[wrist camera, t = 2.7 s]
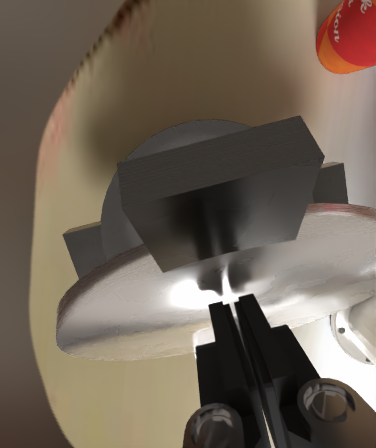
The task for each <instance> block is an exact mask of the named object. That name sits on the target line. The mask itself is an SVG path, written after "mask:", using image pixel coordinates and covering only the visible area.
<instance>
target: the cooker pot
mask: <svg viewBox="0 0 376 448" xmlns="http://www.w3.org/2000/svg"><path fill="white" fill-rule="evenodd" d="M250 128H251V127H249V126H246V125H244V124H240V123H235V122H231V121H224V120H197V121H191V122H186V123H182V124H179V125H176V126H173V127H170V128H167V129H165V130H163V131H161V132H159V133H157V134H155V135H153V136H152V137H151V138H149V139H148V140H146V141H145V142H143V143H142V144H141V145H139V146H138V147H137V148H136V149H135V150H134V151H133V152H132V153H131V154H130V155H129V156H128V157H127V158H126V160H125V161H128V160H132V159H136V158H139V157H143V156H147V155H151V154H155V153H159V152H162V151H166V150H170V149H174V148H178V147H182V146H185V145H189V144H193V143H197V142H201V141H204V140H208V139H212V138H216V137H220V136H224V135H227V134H231V133H235V132H239V131H243V130H247V129H250ZM318 203H330V204H348V196H347V188H346V180H345V171H344V163H340V162H330V163H326V164H322V166H321V169H320V172H319V175H318V177H317V180H316V183H315V186H314V189H313V192H312V195H311V198H310V200H309V203H308V204H318ZM62 235H63V237H64V240H65V243H66V245H67V248H68V251H69V253H70V256H71V259H72V261H73V264H74V267H75V269H76V272H77V275H78V277H79V279H80V278H82V277H83V276H84V275H86V274H87V273H89V272H90V271H92V270H93V269H94V268H96V267H97V266H99V265H101V264H103V263H104V262H106V261H108V260H110V259H112V258H113V257H115V256H117V255H119V254H121V253H123V252H125V251H127V250H130V249H132V248H134V247H136V246H139V245H141V244H143V241H142V240H141V238H140V236H139V235H138V233H137V232H136V230H135V229H134V227H133V226H132V224H131V222H130V221H129V219H128V218H127V216H126V215H125V213H124V212H123V210H122V207H121V197H120V187H119V177H118V170H117V172H116V174H115V175H114V177H113V179H112V181H111V183H110V185H109V188H108V190H107V193H106V196H105V199H104V203H103V208H102V215H101V221H99V222H95V223H91V224H87V225H83V226H79V227H76V228H72V229H69V230H68V231H66V232H65V233H64V234H62ZM195 357H196V353H195Z"/></svg>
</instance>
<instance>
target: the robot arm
mask: <svg viewBox="0 0 376 448" xmlns="http://www.w3.org/2000/svg"><path fill="white" fill-rule="evenodd" d="M238 299H239V301H236V302H234V306H235V311H236V315H237V319H238V323H239V327H240V332H241V336H242V340H243V343H242V340H241V337H240V334H239V331H238V328H237V325H236V322H235V319H234V316H233V313H232V310H231V307H230V304H229V303H228V304H224V305H223V301H219V302H215V303H211V304H208V307H209V312H210V317H211V322H212V327H213V332H214V337H215V342H211V343H207V344H202V345H198V346H196V347H195V350H196V361H197V372H198V382H199V393H200V404H201V408H200V409H198V410H197V411H196V412H195V413H194V414H193V415H192V416H191V417H190V419H189V420H188V422H187V424H186V428H185V431H184V439H183V447H182V448H271V445H270V441H269V436H268V432H267V428H266V423H265V419H264V415H265V418H266V421H267V424H268V427H269V430H270V433H271V436H272V439H273V443H274V446H275V448H376V412H375V411H374V410H373V409H372V408H371V407H370V406H369V405H368V404H367V403H366V402H365V401H364V400H363V398H362V397H361V396H360V395H359V394H358V393H357V392H356V391H355V390H353V389H352V388H351V387H350V386H348V385H347V384H345V383H343V382H341V381H338V380H334V379H330V378H320V376H319V374H318V373H317V371H316V370H315V368H314V366H313V365H312V363H311V362H310V360H309V358H308V357H307V355H306V354H305V352H304V350H303V349H302V347H301V346H300V344H299V342H298V341H297V339H296V338H295V336H294V334H293V333H292V331H291V330H290V328H289V327H288V325H286V324H285V325H281V326H277V327H272V328H271V326H270V324H269V322H268V321H267V319H266V317H265V315H264V313H263V311H262V309H261V307H260V305H259V303H258V301H257V300H256V298H255V296H254V294H253V293H252V294H248V295H244V296H240V297H238ZM331 328H332V332H333V335H334V338H335V340H336V341H337V343H338V345H339V346H340V347H341V348H342V349H343V350H344V352H345V353H346V354H348V355H349V356H350V357H351V358H353V359H355V360H357V361H359V362H362V363H365V364H370V365H375V367H376V294H375V295H373V296H371V297H369V298H367V299H365V300H363V301H361V302H359V303H357V304H355V305H353V306H351V307H348V308H346V309H344V310H341V311H339V312H337V313H334V314H332V315H331ZM243 344H244V346H243ZM244 348H245V349H244ZM262 409H263V411H262ZM263 412H264V415H263Z"/></svg>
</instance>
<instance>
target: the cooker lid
mask: <svg viewBox="0 0 376 448" xmlns="http://www.w3.org/2000/svg"><path fill="white" fill-rule="evenodd" d="M324 157H325V156H324V155H323V153H322V151H321V150H320V148H319V146H318V144H317V143H316V141H315V139H314V138H313V136H312V134H311V133H310V131H309V129H308V128H307V126H306V124H305V122H304V121H303V119H302V117H301V116H296V117H292V118H289V119H285V120H281V121H277V122H273V123H270V124H266V125H262V126H258V127H254V128H250V129H247V130H243V131H239V132H235V133H231V134H227V135H224V136H220V137H216V138H212V139H208V140H204V141H201V142H197V143H193V144H189V145H185V146H182V147H178V148H174V149H170V150H166V151H162V152H159V153H155V154H151V155H147V156H143V157H139V158H136V159H132V160H128V161H124V162H120V163H117V167H118V177H119V187H120V197H121V207H122V210H123V212H124V213H125V215H126V216H127V218H128V219H129V221H130V222H131V224H132V226H133V227H134V229H135V230H136V232H137V233H138V235H139V236H140V238H141V240H142V241H143V244H141V245H139V246H136V247H134V248H132V249H130V250H127V251H125V252H123V253H121V254H119V255H117V256H115V257H113V258H112V259H110V260H108V261H106V262H104V263H103V264H101V265H99V266H97V267H96V268H94V269H93V270H92V271H90V272H89V273H87V274H86V275H84V276H83V277H82V278H80V279H79V280H78V281H77V282H76V283H75V284H74V285H73V286H72V287H70V288H69V289H68V290H67V291H66V293H65V294H64V296H63V297H62V299H61V300H60V302H59V305H58V308H57V315H56V343H57V346H58V347H59V349H60V350H61V351H63V352H65V353H67V354H68V355H71V356H75V357H78V358H84V359H90V360H103V361H127V360H143V359H154V358H162V357H170V356H177V355H184V354H190V353H196V350H195V347H196V346H198V345H202V344H207V343H211V342H215V337H214V332H213V327H212V322H211V317H210V312H209V307H208V304H211V303H215V302H219V301H223V305H224V304H228V303H229V304H230V307H231V310H232V313H233V316H234V319H235V322H236V325H237V328H238V331H239V334H240V337H241V340H242V336H241V332H240V327H239V323H238V319H237V315H236V311H235V306H234V302H236V301H239V299H238V297H240V296H244V295H248V294H252V293H253V294H254V296H255V298H256V300H257V301H258V303H259V305H260V307H261V309H262V311H263V313H264V315H265V317H266V319H267V321H268V322H269V324H270V326H271V328H272V327H277V326H281V325H285V324H286V325H288V327H289V328H290V329H292V328H295V327H298V326H301V325H304V324H307V323H310V322H313V321H316V320H319V319H321V318H324V317H326V316H329V315H332V314H334V313H337V312H339V311H341V310H344V309H346V308H348V307H351V306H353V305H355V304H357V303H359V302H361V301H363V300H365V299H367V298H369V297H371V296H373V295H375V294H376V209H373V208H370V207H365V206H358V205H351V204H330V203H318V204H308V203H309V200H310V198H311V195H312V192H313V189H314V186H315V183H316V180H317V177H318V175H319V172H320V169H321V166H322V163H323V160H324ZM242 343H243V340H242ZM243 346H244V344H243ZM244 349H245V348H244Z"/></svg>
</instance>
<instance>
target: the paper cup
mask: <svg viewBox="0 0 376 448" xmlns="http://www.w3.org/2000/svg"><path fill="white" fill-rule="evenodd" d="M316 51H317V56H318V58H319V60H320V62H321V64H322V65H323V66H324V67H325V68H326V69H327V70H329V71H331V72H333V73H337V74H346V73H351V72H355V71H358V70H362V69H365V68H368V67H371V66H374V65H376V0H343V1H342V2H341V3H340V4H339V6H338V7H337V8H336V9H335V10H334V11H333V12H332V13H331V14H330V15H329V17H328V18H327V19H326V20H325V22H324V23H323V24H322V26H321V28H320V30H319V32H318V35H317V40H316Z"/></svg>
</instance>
